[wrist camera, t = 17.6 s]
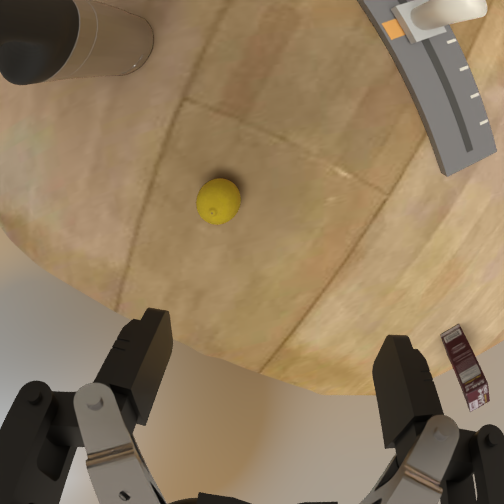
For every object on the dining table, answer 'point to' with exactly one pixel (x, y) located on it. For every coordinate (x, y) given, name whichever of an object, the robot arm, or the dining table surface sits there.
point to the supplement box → (466, 367)
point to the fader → (435, 16)
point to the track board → (438, 89)
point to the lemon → (218, 201)
